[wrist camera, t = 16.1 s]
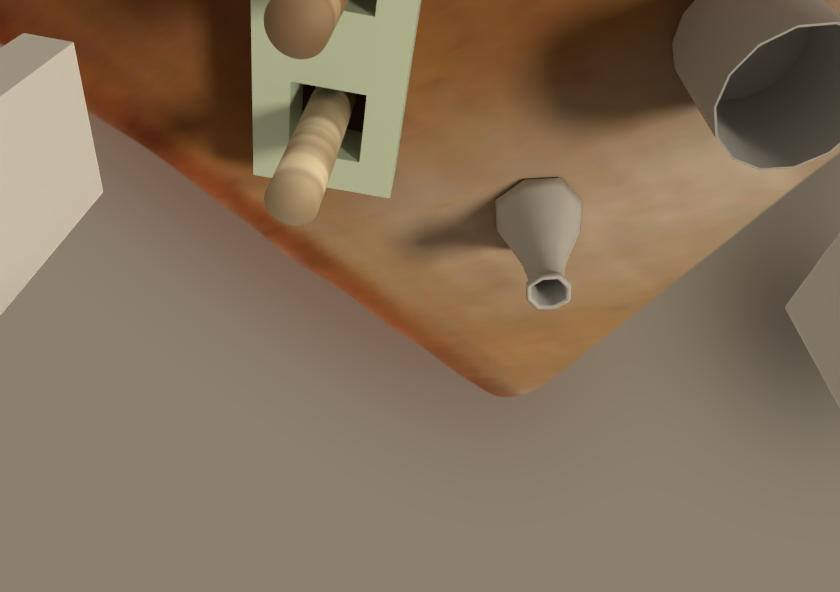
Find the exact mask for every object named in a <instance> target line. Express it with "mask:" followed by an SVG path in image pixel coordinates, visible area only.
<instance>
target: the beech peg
mask: <svg viewBox="0 0 840 592" xmlns="http://www.w3.org/2000/svg"><path fill="white" fill-rule="evenodd" d="M357 96H358V94H357V93H351V92H345V91H340V90H334V89H329V88H323V87H318V86H315V89H314V91H313V93H312V95H311V97H310V99H309V101H308V103H307V105H306V108H305V110H304V112H303V114H302V116H301V118H300V120H299V122H298V124H297V126H296V129H295V131H294V133H293V135H292V137H291V139H290V141H289V143H288V145H287V148H286V150H285V152H284V154H283V156H282V158H281V160H280V162H279V164H278V166H277V169H276V171H275V173H274V175H273V177H272V179H271V181H270V183H269V185H268V188H267V190H266V192H265V196H264V200H265V205H266V207H267V209H268V211H269V212H270V214H271V215H272V216H273V217H274V218H276V219H277V220H279V221H280V222H282V223H285V224H288V225H293V226H299V225H304V224H307V223H309V222H311V221H312V220H313V219H314V218H315V217H316V215H317V213H318V210H319V207H320V205H321V202H322V199H323V196H324V193H325V190H326V187H327V184H328V181H329V178H330V175H331V172H332V170H333V167H334V164H335V161H336V158H337V155H338V152H339V149H340V146H341V143H342V140H343V137H344V134H345V132H346V129H347V126H348V123H349V120H350V117H351V114H352V111H353V108H354V105H355V102H356V99H357Z"/></svg>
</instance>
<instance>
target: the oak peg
mask: <svg viewBox="0 0 840 592" xmlns="http://www.w3.org/2000/svg"><path fill="white" fill-rule="evenodd" d="M348 1H349V0H270V2H269V3H268V5H267V7H266V9H265V12H264V28H265V31H266V34H267V36H268V38H269V40H270V42H271V43H272V44H273V46H274V47H275V48H276V49H277V50H278V51H280V52H281V53H283V54H284V55H286V56H288V57H291V58H294V59H309V58H312V57H315V56H316V55H318V54H319V53H320V52H322V50H323V49H324V48H325V46H326V45H327V43H328V41H329V39H330V37H331V35H332V33H333V31H334V29H335V27H336V25H337V23H338V21H339V19H340V17H341V15H342V13H343V11H344V9H345V7H346V5H347V3H348Z"/></svg>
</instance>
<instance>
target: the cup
mask: <svg viewBox="0 0 840 592" xmlns="http://www.w3.org/2000/svg"><path fill="white" fill-rule="evenodd" d="M672 46H673V57H674V67H675V71H676V72H677V74H678V76H679V77H680V79H681V81H682V82H683V84H684V86H685V87H686V89H687V91H688V92H689V94H690V96H691V97H692V99H693V101H694V102H695V104H696V106H697V108H698V109H699V111H700V113H701V114H702V116H703V118H704V119H705V121H706V123H707V124H708V126H709V128H710V129H711V131H712V133H713V134H714V136H715V138H716V139H717V140H718V142H719V143H720V144H721V146H722V147H723V148H724V150H725V151H726V152H727V154H728V155H729V156H730V158H731V159H732V160H735V161H737V162H740V163H742V164H745V165H748V166H750V167H753V168H755V169H758V170H770V169H787V168H795V167H798V166H800V165H803V164H805V163H807V162H810V161H812V160H815V159H817V158H820V157H822V156H824V155H827V154H829V153H831V152H832V151H833V150H834V149H835V148H837V147H838V146H839V145H840V13H839V12H838V11H836V10H835V9H834V8H832V7H831V6H830V5H828V4H827V3H826V2H824V1H823V0H695V1H694V2H693V3H692V4H691V5H690V6H689V7H688V9H687V10H686V11H685V12H684V13H683V15H682V18H681V20H680V23H679V26H678V29H677V31H676V34H675V37H674V39H673V42H672Z"/></svg>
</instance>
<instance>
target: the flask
mask: <svg viewBox="0 0 840 592" xmlns="http://www.w3.org/2000/svg"><path fill="white" fill-rule="evenodd" d="M495 208H496V230H497V231H498V233H499V234H500V236H501V237H502V238H503V239H504V241H505V242H506V243H507V244H508V246H509V247H510V248H511V250H512V251H513V252H514V254H515V255H516V257H517V258H518V260H519V261H520V262H521V264H522V265H523V267H524V270H525V272H526V275H527V277H528V280H529V281H528V282H527V284H526V298H527V300H528V301H529V302H530V303H531V304H532V305H533V306H534V307H535V308H536V309H537V310H551V309H557V308H559V307H560V306H562V305H564V304H566V303H567V302H569V301H570V298H571V284H570V283H569V282H568V281H567V280H566V279H565V266H566V264H567V261H568V258H569V256H570V253H571V251H572V248H573V246H574V244H575V242H576V240H577V238H578V236H579V233H580V229H581V215H582V200H581V199H580V198H579V197H578V196H577V195H576V194H575V192H574V191H573V190H572V189H571V188H570V187H569V186H568V184H567V183H566V182H565V181H564V180H563V179H562V178H546V179H528V180H523V181H522V182H520V183H519V184H517V185H516V186H515V187H513V188H512V189H510V190H509V191H507V192H506V193H505V194H503V195H502V196H500V197H499V198H498V199H496V200H495Z"/></svg>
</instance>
